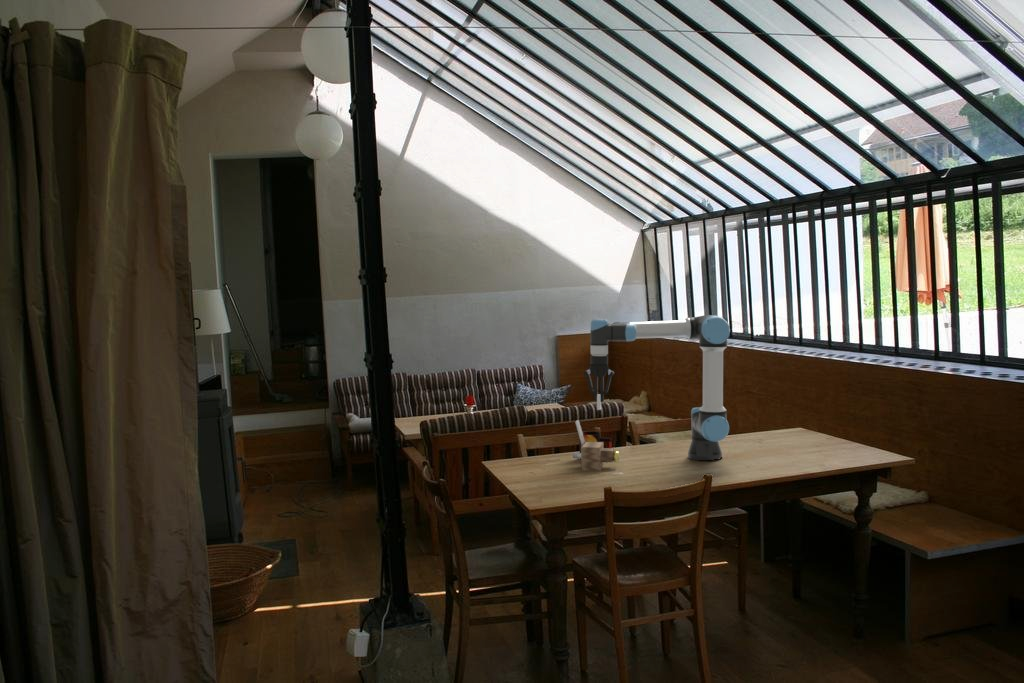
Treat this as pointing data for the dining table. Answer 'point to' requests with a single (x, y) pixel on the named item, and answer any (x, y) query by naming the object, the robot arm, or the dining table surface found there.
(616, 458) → the pin
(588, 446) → the block
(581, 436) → the keeper flap
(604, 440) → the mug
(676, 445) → the dining table surface
